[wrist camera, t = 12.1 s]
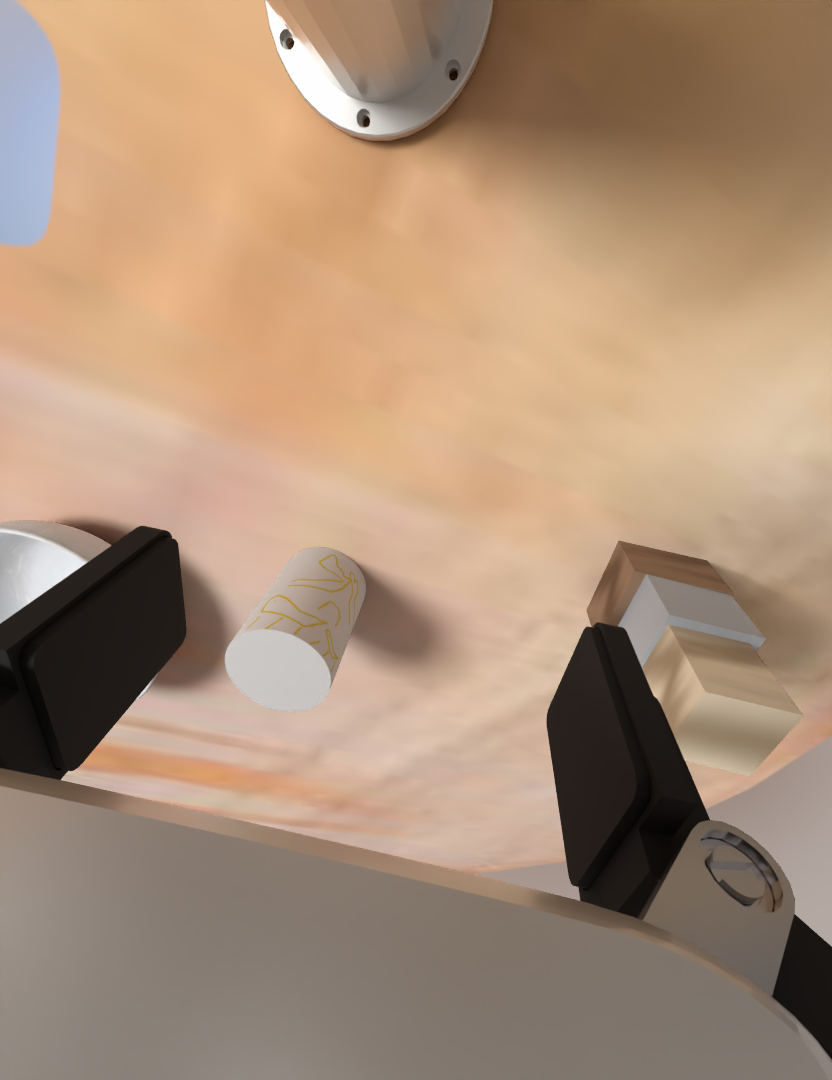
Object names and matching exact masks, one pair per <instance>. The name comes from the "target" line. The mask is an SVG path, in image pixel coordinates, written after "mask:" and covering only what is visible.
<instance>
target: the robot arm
mask: <svg viewBox="0 0 832 1080" xmlns="http://www.w3.org/2000/svg"><path fill="white" fill-rule="evenodd" d="M264 1H265V7H266V12H267V18H268V23H269V28H270V31H271V34H272V37H273V40H274V43H275V46H276V49H277V52H278V55H279V57H280V59H281V61H282V63H283V65H284V67H285V70H286V72H287V74H288V76H289V78H290V79H291V81H292V82H293V84H294V85H295V87H296V88H297V89H298V91H299V92H300V94H301V95H302V97H303V98H304V99H305V101H306V102H307V103H308V104H309V105H310V106H311V107H312V108H313V109H314V110H315V111H316V113H318V114H319V115H320V116H321V117H322V118H324V119H325V120H326V121H327V122H329V123H330V124H331V125H332V126H333V127H335V128H337V129H339V130H341V131H343V132H345V133H347V134H349V135H351V136H353V137H357V138H361V139H365V140H369V141H391V140H395V139H399V138H403V137H407V136H410V135H412V134H414V133H416V132H418V131H420V130H422V129H424V128H426V127H427V126H429V125H430V124H431V123H432V122H434V121H435V120H436V119H437V118H438V117H440V116H441V115H442V114H443V113H445V111H446V110H447V109H448V108H449V107H450V106H451V104H452V103H453V102H454V101H455V100H456V98H457V97H458V96H459V95H460V94H461V92H462V90H463V89H464V87H465V85H466V83H467V82H468V80H469V78H470V77H471V75H472V73H473V72H474V69H475V67H476V65H477V62H478V60H479V57H480V55H481V52H482V50H483V47H484V45H485V41H486V37H487V33H488V29H489V25H490V21H491V17H492V11H493V1H494V0H264ZM291 41H294V46H293V48H292V49H291V50H289V44H290V42H291ZM452 71H456V72H457V73H458V77H457V79H456V80H454V81H452V80H450V78H449V76H450V73H451V72H452ZM366 118H369V119H370V125H369V126H368V127H364V126H363V122H364V120H365V119H366ZM185 636H186V620H185V610H184V599H183V589H182V579H181V569H180V559H179V548H178V543H177V541H176V540H175V539H172V536H171V534H170V533H169V532H168V531H165V530H160V529H156V528H151V527H146V526H140V527H138V528H136V529H134V530H133V531H132V532H130V533H129V534H127V535H126V536H124V537H123V538H122V539H120V540H119V541H117V542H116V543H114V544H113V545H112V546H110V547H109V548H107V549H106V550H104V551H103V552H102V553H100V554H99V555H97V556H96V557H94V558H93V559H92V560H90V561H89V562H87V563H86V564H84V565H83V566H82V567H80V568H79V569H77V570H76V571H75V572H73V573H72V574H70V575H69V576H67V577H66V578H65V579H63V580H62V581H60V582H59V583H57V584H56V585H55V586H53V587H52V588H50V589H49V590H47V591H46V592H45V593H43V594H42V595H40V596H39V597H37V598H36V599H35V600H33V601H32V602H30V603H29V604H27V605H26V606H25V607H23V608H22V609H20V610H19V611H18V612H16V613H15V614H13V615H12V616H10V617H9V618H8V619H6V620H5V621H3V622H2V623H0V1080H832V947H831V946H830V945H829V944H828V943H827V942H826V941H824V940H823V939H822V938H821V937H820V936H819V935H817V933H815V932H814V931H813V930H812V929H811V928H809V926H807V925H806V924H805V923H804V922H803V921H802V920H801V919H800V918H798V917H797V916H796V915H795V914H794V913H795V898H794V895H793V892H792V888H791V885H790V883H789V881H788V879H787V877H786V876H785V874H784V872H783V870H782V869H781V867H780V866H779V865H778V863H777V862H776V861H775V860H774V858H773V857H772V856H771V855H770V854H769V852H768V851H766V850H765V849H764V848H763V847H762V846H761V845H760V844H759V843H758V842H757V841H755V840H754V839H753V838H752V837H750V836H749V835H747V834H746V833H744V832H743V831H741V830H739V829H738V828H736V827H734V826H731V825H729V824H726V823H724V822H720V821H713V820H710V819H709V817H708V814H707V812H706V809H705V807H704V805H703V802H702V800H701V798H700V795H699V793H698V791H697V788H696V786H695V784H694V781H693V779H692V776H691V774H690V772H689V769H688V767H687V765H686V762H685V760H684V758H683V755H682V753H681V751H680V748H679V746H678V744H677V741H676V739H675V737H674V734H673V732H672V729H671V727H670V725H669V722H668V720H667V718H666V715H665V713H664V711H663V708H662V706H661V704H660V702H659V701H658V699H657V698H656V697H655V696H653V693H652V691H651V688H650V686H649V684H648V681H647V679H646V676H645V674H644V672H643V669H642V667H641V664H640V662H639V660H638V657H637V655H636V652H635V650H634V648H633V645H632V643H631V640H630V638H629V636H628V633H627V631H626V630H625V628H623V627H619V626H614V625H609V624H604V623H600V622H597V623H595V624H594V626H593V627H586V628H585V629H584V631H583V633H582V635H581V637H580V639H579V642H578V644H577V646H576V648H575V651H574V653H573V655H572V657H571V660H570V662H569V664H568V666H567V669H566V671H565V673H564V675H563V677H562V680H561V682H560V684H559V686H558V689H557V691H556V693H555V695H554V698H553V700H552V702H551V704H550V707H549V709H548V713H547V730H548V737H549V744H550V751H551V758H552V765H553V772H554V778H555V785H556V792H557V799H558V806H559V813H560V819H561V826H562V833H563V840H564V847H565V854H566V860H567V867H568V874H569V879H570V881H571V884H572V885H573V886H578V887H579V893H580V900H581V901H578V900H574V899H570V898H566V897H562V896H558V895H554V894H550V893H547V892H543V891H539V890H535V889H531V888H526V887H523V886H519V885H515V884H511V883H507V882H503V881H499V880H495V879H491V878H487V877H482V876H478V875H474V874H470V873H465V872H461V871H457V870H452V869H448V868H444V867H440V866H435V865H431V864H427V863H423V862H418V861H414V860H410V859H405V858H401V857H397V856H393V855H388V854H384V853H380V852H376V851H371V850H367V849H363V848H358V847H354V846H350V845H345V844H341V843H337V842H332V841H328V840H324V839H319V838H315V837H311V836H306V835H302V834H297V833H293V832H289V831H284V830H280V829H276V828H271V827H267V826H262V825H258V824H254V823H249V822H245V821H240V820H236V819H232V818H227V817H223V816H218V815H214V814H210V813H205V812H201V811H196V810H192V809H188V808H183V807H179V806H174V805H170V804H165V803H161V802H156V801H152V800H147V799H143V798H138V797H134V796H129V795H125V794H120V793H116V792H111V791H107V790H102V789H98V788H93V787H89V786H84V785H80V784H75V783H71V782H66V781H62V780H61V779H62V777H63V776H64V775H65V774H66V773H67V772H68V771H73V770H75V769H77V768H78V767H79V766H80V765H81V764H82V763H83V762H84V761H85V759H86V758H87V757H88V756H89V755H90V753H91V752H92V751H93V750H94V749H95V747H96V746H97V745H98V744H99V743H100V741H101V740H102V739H103V738H104V737H105V735H106V734H107V733H108V732H109V731H110V729H111V728H112V727H113V726H114V725H115V724H116V722H117V721H118V720H119V719H120V718H121V716H122V715H123V714H124V713H125V712H126V710H127V709H128V708H129V707H130V706H131V704H132V703H133V702H134V701H135V700H136V698H137V697H138V696H139V695H140V694H141V692H142V691H143V690H144V689H145V688H146V686H147V685H148V684H149V683H150V682H151V681H152V679H153V678H154V677H155V676H156V675H157V673H158V672H159V671H160V670H161V669H162V667H163V666H164V665H165V664H166V663H167V661H168V660H169V659H170V658H171V657H172V655H173V654H174V653H175V652H176V651H177V649H178V648H179V647H180V646H181V644H182V643H183V641H184V639H185Z"/></svg>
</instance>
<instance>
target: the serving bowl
mask: <svg viewBox="0 0 832 1080" xmlns="http://www.w3.org/2000/svg"><path fill="white" fill-rule="evenodd" d="M110 546H112V545H110V544H109V543H107V542H105V541H104V540H102V539H100V538H98V537H96V536H94V535H92V534H90V533H87V532H85V531H82V530H80V529H77V528H74V527H70V526H67V525H63V524H58V523H53V522H46V521H34V520H23V521H10V522H3V523H0V623H2V622H3V621H5V620H6V619H8V618H9V617H10V616H12V615H13V614H15V613H16V612H18V611H19V610H20V609H22V608H23V607H25V606H26V605H27V604H29V603H30V602H32V601H33V600H35V599H36V598H37V597H39V596H40V595H42V594H43V593H45V592H46V591H47V590H49V589H50V588H52V587H53V586H55V585H56V584H57V583H59V582H60V581H62V580H63V579H65V578H66V577H67V576H69V575H70V574H72V573H73V572H75V571H76V570H77V569H79V568H80V567H82V566H83V565H84V564H86V563H87V562H89V561H90V560H92V559H93V558H94V557H96V556H97V555H99V554H100V553H102V552H103V551H104V550H106V549H107V548H109V547H110ZM158 673H159V672H158ZM158 673H157V675H158ZM157 675H156V676H155V677H154V678H153V679H152V681H151V682H150V683H149V684H148V685H147V686H146V688H145V689H144V690H143V691H142V692H141V694H140V695H139V696H138V697H137V698H136V700H137V699H139V698H140V697H142V696H143V695H144V694H145V693H146V692H147V691H148V689H149V688H150V687H151V685H152V684H153V682H154V680H155V679H156V677H157ZM136 700H135V701H136Z"/></svg>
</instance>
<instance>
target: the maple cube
mask: <svg viewBox="0 0 832 1080" xmlns="http://www.w3.org/2000/svg"><path fill="white" fill-rule="evenodd" d="M642 669H643V672H644V674H645V676H646V679H647V681H648V684H649V686H650V688H651V691H652V693H653V696H655V697H656V698H657V699H658V701H659V702H660V704H661V706H662V708H663V711H664V713H665V715H666V718H667V720H668V722H669V725H670V727H671V729H672V732H673V734H674V737H675V739H676V741H677V744H678V746H679V748H680V751H681V753H682V755H683V758H684V760H685V761H689V762H693V763H697V764H701V765H705V766H710V767H714V768H718V769H722V770H726V771H730V772H734V773H738V774H742V775H747V776H751V775H752V773H753V772H754V771H755V770H756V769H757V768H758V767H759V766H760V764H761V763H762V762H763V761H764V760H765V759H766V758H767V757H768V755H769V754H770V753H771V752H772V751H773V750H774V749H775V748H776V746H777V745H778V744H779V743H780V742H781V741H782V740H783V739H784V737H785V736H786V735H787V734H788V733H789V732H790V731H791V729H792V728H793V727H794V726H795V725H796V724H797V723H798V722H799V720H800V719H801V718H802V717H803V716H804V715H803V714H802V712H801V711H800V710H799V708H798V707H797V706H796V704H795V703H794V702H793V700H792V699H791V698H790V696H789V695H788V694H787V692H786V691H785V690H784V688H783V687H782V686H781V684H780V683H779V682H778V680H777V679H776V678H775V676H774V675H773V674H772V672H771V671H770V670H769V668H768V667H767V666H766V664H765V663H764V662H763V660H762V659H761V658H760V656H759V655H758V654H757V652H756V651H755V650H754V648H753V647H752V646H751V644H750V643H746V642H742V641H737V640H733V639H729V638H725V637H721V636H716V635H712V634H708V633H704V632H700V631H695V630H691V629H687V628H683V627H679V626H674V625H670V624H668V625H667V627H666V629H665V630H664V632H663V634H662V635H661V637H660V639H659V640H658V642H657V644H656V645H655V647H654V649H653V650H652V652H651V654H650V655H649V657H648V659H647V661H646V662H645V664H644V666H643V667H642Z"/></svg>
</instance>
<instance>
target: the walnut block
mask: <svg viewBox="0 0 832 1080" xmlns="http://www.w3.org/2000/svg"><path fill="white" fill-rule="evenodd" d="M646 574H648V575H652V576H656V577H660V578H664V579H668V580H672V581H676V582H680V583H684V584H688V585H692V586H696V587H700V588H704V589H708V590H712V591H716V592H720V593H724V594H728V595H731V596H733V594H734V593H733V592H732V591H731V589H730V588H729V587H728V586H727V585H726V583H725V582H724V581H723V580H722V579H721V577H720V576H719V575H718V574H717V572H716V571H715V570H714V569H713V568H712V566H711V565H710V564H709V563H708V562H707V561H706V560H701V559H697V558H693V557H688V556H684V555H679V554H675V553H670V552H666V551H662V550H657V549H653V548H648V547H644V546H640V545H635V544H631V543H626V542H622V541H618V544H617V546H616V548H615V550H614V552H613V554H612V557H611V559H610V561H609V563H608V565H607V567H606V570H605V572H604V574H603V576H602V578H601V580H600V583H599V585H598V587H597V589H596V591H595V593H594V596H593V598H592V600H591V602H590V604H589V606H588V608H587V614H588V617H589V620H590V623H591V626H592V627H593V626H594V624H595V623H597V622H600V623H604V624H609V625H614V626H618V625H619V623H620V621H621V620H622V618H623V616H624V614H625V612H626V610H627V609H628V607H629V605H630V603H631V601H632V599H633V598H634V596H635V594H636V592H637V590H638V588H639V587H640V585H641V583H642V581H643V579H644V577H645V576H646Z"/></svg>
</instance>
